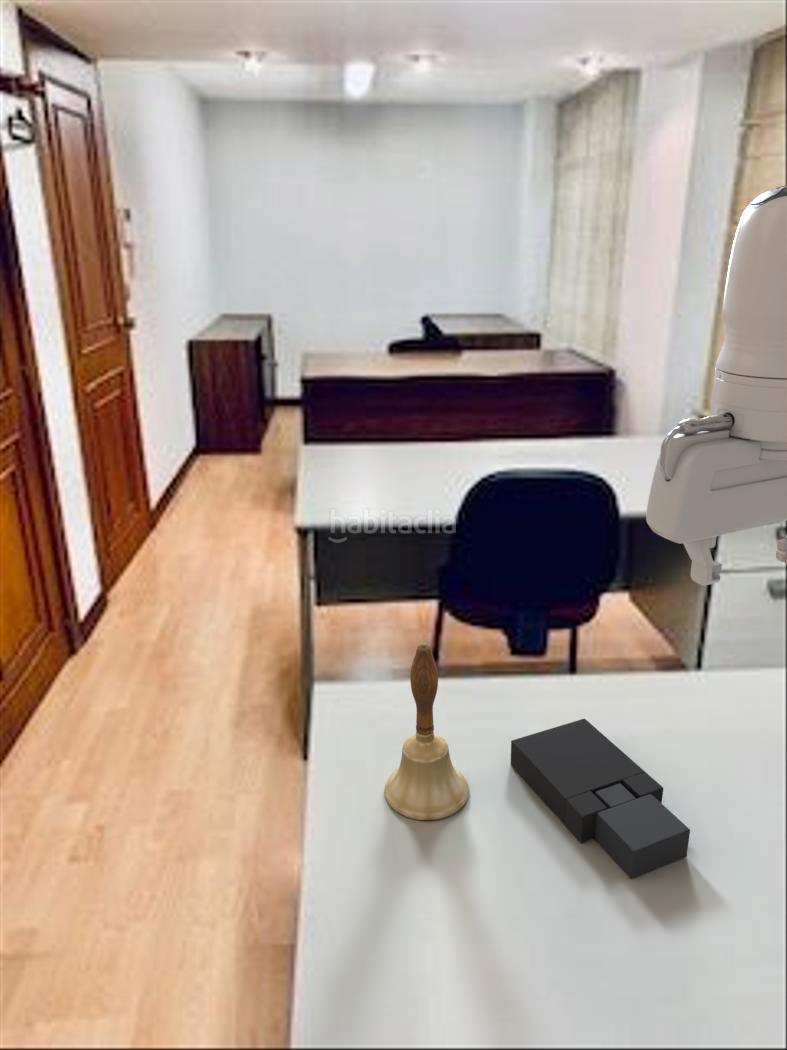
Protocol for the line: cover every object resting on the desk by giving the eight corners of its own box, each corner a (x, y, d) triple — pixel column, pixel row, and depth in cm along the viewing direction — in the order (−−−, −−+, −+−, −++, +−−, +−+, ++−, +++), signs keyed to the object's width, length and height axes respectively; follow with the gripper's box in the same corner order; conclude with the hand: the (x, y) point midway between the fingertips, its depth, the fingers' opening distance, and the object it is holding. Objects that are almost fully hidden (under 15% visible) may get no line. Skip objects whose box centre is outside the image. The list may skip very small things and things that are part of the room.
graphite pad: (631, 803, 72) (634, 778, 71) (686, 857, 66) (690, 829, 65) (578, 822, 70) (580, 796, 69) (630, 879, 64) (633, 851, 63)
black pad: (582, 741, 81) (584, 718, 80) (660, 813, 71) (663, 787, 70) (510, 764, 78) (510, 740, 77) (580, 843, 68) (582, 816, 67)
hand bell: (370, 780, 76) (363, 640, 71) (441, 754, 80) (440, 619, 74) (409, 833, 69) (405, 682, 64) (485, 802, 73) (487, 657, 67)
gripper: (697, 431, 52) (677, 611, 57) (901, 401, 59) (867, 563, 64) (636, 414, 58) (622, 580, 63) (829, 388, 65) (803, 538, 70)
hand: (748, 571), depth 63 cm, fingers open, 8 cm apart
